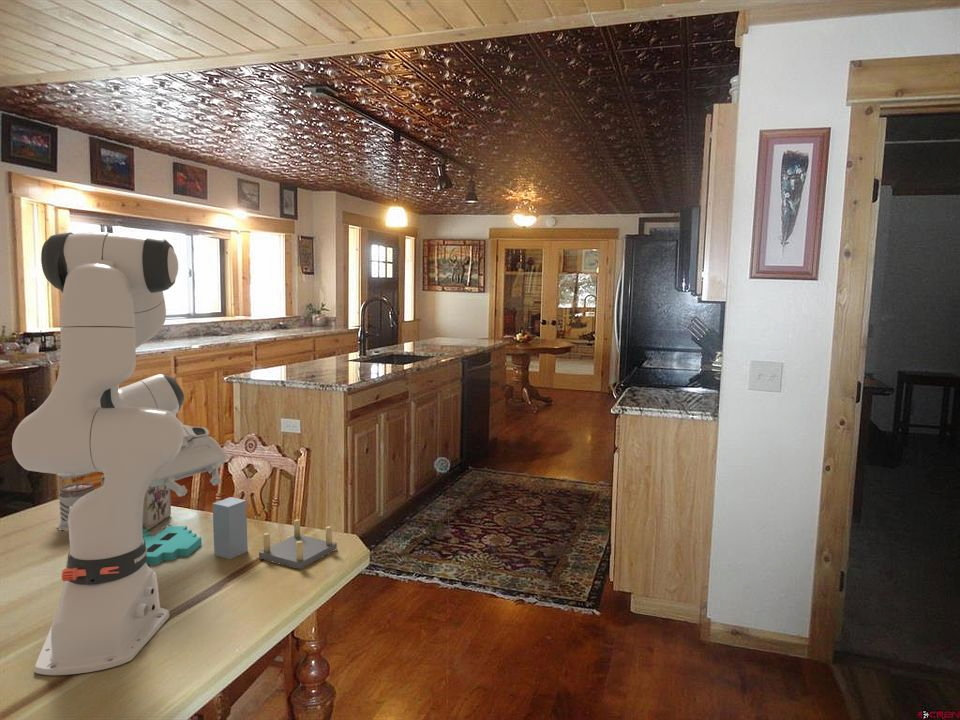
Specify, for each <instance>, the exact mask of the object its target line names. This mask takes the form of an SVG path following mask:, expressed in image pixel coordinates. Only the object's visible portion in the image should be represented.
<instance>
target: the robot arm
mask: <svg viewBox="0 0 960 720" xmlns="http://www.w3.org/2000/svg"><path fill="white" fill-rule="evenodd" d="M40 254H41V255H40V262H41V268H42V272H43V276H44V277H45V278H46V280H47V281H48V283H49V284H51V285H52V286H53V287H54V288H55V289H57V290H59V291H61V293H62V296H61V302H60V303H61V305H60V353H59V354H60V356H59V367H58V368H59V369H58V374H57V378H56V381H55V383H54V387H53V388H52V389H51V392H50V394H49V395H48V397H47V398H46V399H45V400H44V401H43V403H42V404H41V405H39V407H38V408H37V409H36V410H34V411H33V412H31V413H30V414H28V415H27V416H26V417H24V418H23V419H22V420H21V421H20V423H19V424H18V425H17V426H16V428H15V430H14V433H13V435H12V441H11V448H12V449H11V450H12V453H13V456H14V458H15V460H16V461H17V463H18V464H19V465H20V466H21V467H22V468H23V469H24V470H26V471H31V472H38V473H45V474H54V475H57V474H66V473H84V472H93V473H97V472H98V473H103V474H104V476H105V480H104V485H103V486H101V485H100V487H97V488H94V490H93V491H91V492H89V493H85V494H84V496H82V497H81V498H79V499H78V500H77V501H76V502H75V503H74V504H73V506H71V507H70V511H69V514H68V525H69V531H68V539H69V552H68V553H67V560H66V564H65V568H64V569H62V570H61V571H62V572H61V580H62V582H63V587H62V590H61V594H60V597H59V600H58V604H57V607H56V610H55V613H54V616H53V617H54V618H53V621H52V623H51V625H50V629H49V631H48V633H47V636H46V637H45V641H44V643H43V646H42V647H41V650H40V652H39V655H38V656H37V660H36V662H35V665H34V673H35V674H38V675H42V676H43V675H45V676H69V675H77V674H85V673H92V672H93V673H94V672H98V671H102V670H106V669H110V668H111V669H112V668H115V667H118V666H120V665H124V664H126V663H128V662H130V661H132V660H133V659H134V658H135V657H136V656H137V654H138V653H140V651H141V650H142V649H143V647H145V645H146V644H148V642H149V641H150V640H151V639H152V637H153V636H154V635H155V634H156V633H157V632H158V631H159V630H160V629H161V628H162V626H163V625H164V624H165V622H167V621H168V620H169V618H170V616H171V615H170V611H169V609H167V608H165V607H164V608H163V607H161V602H160V601H161V600H160V594H159V593H160V592H159V585H158V579H157V578H158V576H157V572H155V571H154V570H152V569H151V568H150V566H148V564H146V561H147V547H146V542H145V540H144V539H143V531H142V515H143V502H144V497H145V494H146V491H147V489H148V487H149V486H150V487H155V486H159V485H162V484H165V486H166V487H167V488H169V489H170V491H173V492H175V494H176V495H177V497H179V498H180V497H184V496H186V494H187V493H188V492H189V491H188V489H187V487H186V486H185V484H183V485H181V484H179V483H177V482H176V481H179V480H182V479H185V478H188V477H191V476H195V475H198V474H202V473H205V472H207V473H208V474H209V475H211V478H210V479H209V482H210V483H211V485H212V486H217V485H220V484H221V483H222V478H221V477H220V475H219V468H221V467H222V466H223V464H224V463H225V462H226V460H227V455H226V452H225V451H224V449H223V448H222V447H221V445H220V444H219V443H218V442H217V441H216V439H215V438H214V437H211V436H209V435H210V430H209V429H208V428H206V427H203V426H201V427H200V426H192V425H187V424H184V423H183V422H182V421H181V420H179V419H178V417H177V414H179V412H180V411H181V408H182V406H183V404H184V401H185V395H184V392H183V390H182V388H181V386H180V385H179V384H178V382H177V381H176V379H175V378H173V377H172V376H170V375H168V374H164V373H159V374H155V375H151V376H149V377H146V378H144V379H141V380H138V381H137V382H134V383H130V384H128V385H125V386H122V387H119V385H120V384H122V383H124V382H125V381H127V380H128V379H130V377H132V375H133V374H134V372H135V370H136V366H137V361H136V360H137V355H136V353H137V350H136V349H137V348H139V347H140V346H142V345H143V344H145V343H147V342H148V341H149V340H152V338H154V337H155V336H156V335H157V334H158V333H159V332H160V331H161V329H162V328H163V326H164V325H165V322H166V318H167V317H166V316H167V309H166V302H165V301H166V300H165V296H164V291H167V290H168V289H170V288H172V287H173V286H174V284H175V283H176V279H177V276H178V272H179V260H178V257H177V255H176V252H175V249H174V247H173V245H172V244H171V243H170V242H169V241H168V240H166V239H164V238H161V237H158V236H154V235H153V236H152V235H147V236H141V235H133V234H126V233H125V234H124V233H121V234H120V233H112V232H110V231H107V232H103V231H102V232H100V231H99V232H98V231H97V232H81V233H80V232H79V233H73V232H62V233H57V234H52V235H50V236H49V237H48V239H46V241H44V243H43V245H42V247H41V253H40Z"/></svg>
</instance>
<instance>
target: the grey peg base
mask: <svg viewBox="0 0 960 720" xmlns="http://www.w3.org/2000/svg"><path fill="white" fill-rule="evenodd" d="M262 535H263V536H262V541H263V544H262V545H263V549H262V550H260V551H259V552H258V559H259V558H260V559H259V560H262V559H265V560H264V561H266V560H269V561H268V562H270V561H273V562H272V563H274V562H275V563H274V564H277V563H280V564H279V565H281V564H283V565H282V566H285V565H288V566H287V567H289V566H291V567H290V568H292V567H295V568H294V569H296V568H299V569H298V570H300V569H301V570H302V569H304V568H306V567H308V566H310V565H311V564H313V563H315V562H316V560H317V561H318V559H319V560H320V559H322V558H323V557H322V556H324V557H326V556H327V555H326V554H328V553H329V554H331V553H333V552H334V551H333V550H335V549H337V550H338V545H337V544H338V543H337V542H334V541H333V526H331V525H329V526H325V539H320V538H315V537H311V536H307V535H302V534H301V519H299V518H298V519H294V520H293V535H292V536H289V537H288V538H286V539H284V540H282V541H279V542H277V543H275V544H273V545H271V533H269V532H264V533H262ZM332 551H333V552H332ZM335 551H336V550H335ZM330 552H331V553H330ZM329 554H328V555H329ZM325 555H326V556H325ZM321 557H322V558H321ZM314 561H315V562H314ZM309 564H310V565H309ZM307 565H308V566H307ZM305 566H306V567H305ZM303 567H304V568H303Z"/></svg>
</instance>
